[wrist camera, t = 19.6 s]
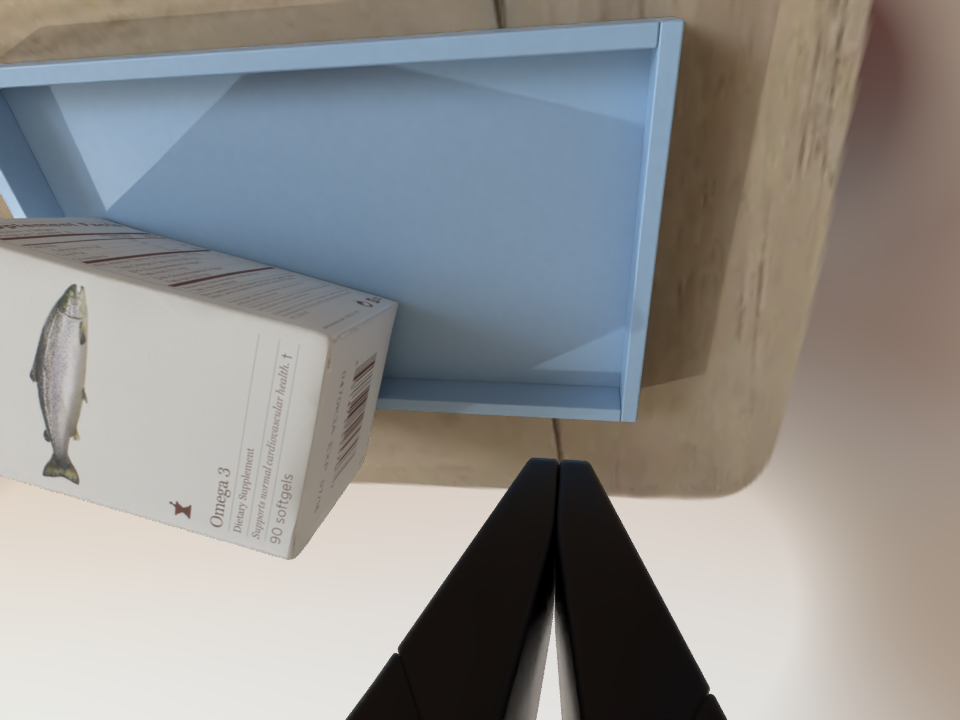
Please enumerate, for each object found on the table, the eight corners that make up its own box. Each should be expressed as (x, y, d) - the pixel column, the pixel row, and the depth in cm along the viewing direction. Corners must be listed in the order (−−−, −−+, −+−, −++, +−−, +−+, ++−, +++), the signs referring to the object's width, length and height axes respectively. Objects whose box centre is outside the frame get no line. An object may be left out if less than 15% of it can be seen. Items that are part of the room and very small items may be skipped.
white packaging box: (293, 571, 16) (-106, 459, 16) (368, 462, 23) (89, 386, 24) (334, 333, 14) (-121, 213, 14) (402, 294, 21) (97, 215, 22)
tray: (674, 16, 15) (685, 19, 14) (632, 391, 22) (636, 423, 21) (-12, 65, 19) (-68, 71, 18) (141, 371, 26) (112, 395, 25)
